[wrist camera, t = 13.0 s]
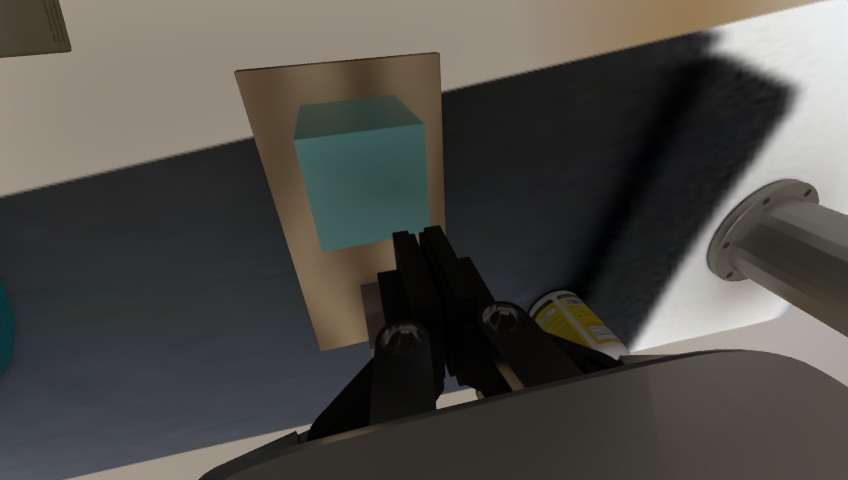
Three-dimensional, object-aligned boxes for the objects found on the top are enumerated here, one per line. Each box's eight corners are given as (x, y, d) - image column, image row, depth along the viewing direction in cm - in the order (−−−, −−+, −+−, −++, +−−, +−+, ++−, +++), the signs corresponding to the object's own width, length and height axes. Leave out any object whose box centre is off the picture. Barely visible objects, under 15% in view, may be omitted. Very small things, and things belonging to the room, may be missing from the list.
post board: (435, 52, 23) (483, 64, 16) (445, 314, 35) (475, 382, 29) (237, 70, 21) (200, 92, 14) (320, 343, 33) (322, 423, 27)
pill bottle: (530, 339, 41) (591, 432, 32) (520, 303, 37) (587, 395, 28) (579, 317, 41) (655, 402, 32) (574, 279, 37) (658, 362, 28)
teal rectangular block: (393, 94, 23) (424, 123, 16) (402, 180, 26) (430, 232, 20) (300, 105, 22) (293, 140, 15) (320, 192, 25) (321, 252, 19)
